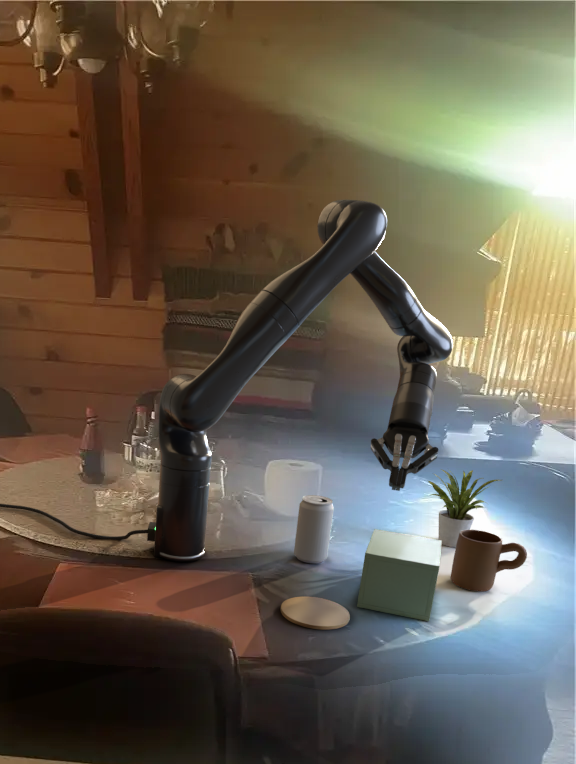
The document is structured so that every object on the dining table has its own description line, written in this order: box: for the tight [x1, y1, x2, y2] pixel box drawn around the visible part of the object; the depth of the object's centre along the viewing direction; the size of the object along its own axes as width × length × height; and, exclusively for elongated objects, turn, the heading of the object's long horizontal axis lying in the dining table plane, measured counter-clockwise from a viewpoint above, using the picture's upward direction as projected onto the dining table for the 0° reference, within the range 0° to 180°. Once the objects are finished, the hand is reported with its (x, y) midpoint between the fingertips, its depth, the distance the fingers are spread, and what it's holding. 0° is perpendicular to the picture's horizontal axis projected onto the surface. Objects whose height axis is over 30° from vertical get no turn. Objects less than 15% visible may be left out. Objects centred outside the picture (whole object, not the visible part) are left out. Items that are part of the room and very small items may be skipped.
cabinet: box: [356, 528, 443, 622], centre depth 128 cm, size 14×12×10 cm
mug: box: [450, 529, 528, 592], centre depth 137 cm, size 12×8×9 cm, turn 71°
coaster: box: [280, 596, 351, 631], centre depth 121 cm, size 11×11×1 cm
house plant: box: [427, 468, 502, 548], centre depth 158 cm, size 14×14×16 cm
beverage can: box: [293, 494, 335, 564], centre depth 143 cm, size 6×6×12 cm
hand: (396, 488), depth 138 cm, fingers closed
